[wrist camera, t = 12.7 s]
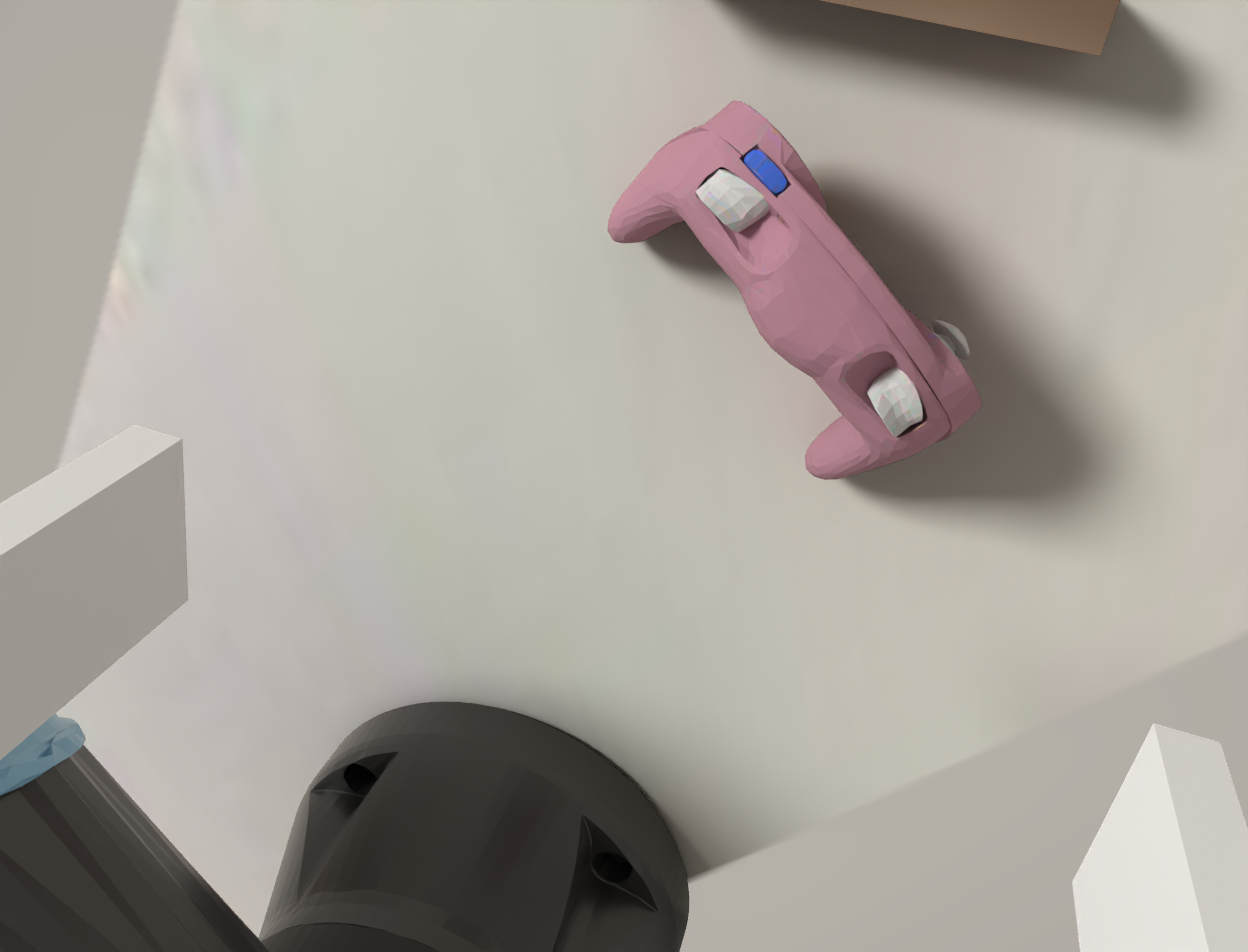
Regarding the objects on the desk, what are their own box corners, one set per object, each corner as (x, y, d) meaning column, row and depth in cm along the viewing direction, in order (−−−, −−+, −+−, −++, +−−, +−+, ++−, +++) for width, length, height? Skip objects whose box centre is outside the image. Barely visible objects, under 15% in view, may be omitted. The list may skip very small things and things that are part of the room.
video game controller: (939, 380, 31) (1051, 402, 24) (816, 486, 31) (893, 536, 24) (716, 104, 30) (770, 42, 23) (589, 217, 30) (602, 190, 23)
